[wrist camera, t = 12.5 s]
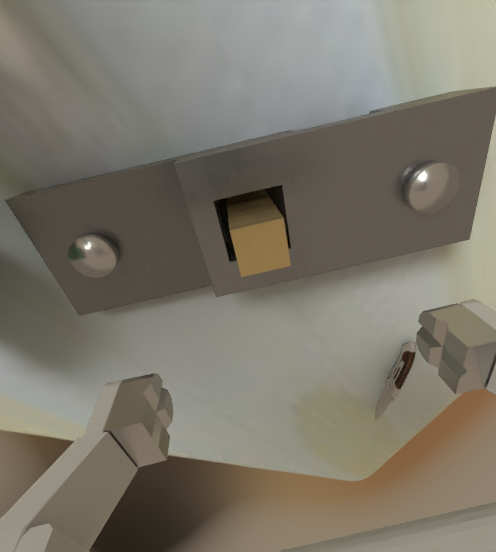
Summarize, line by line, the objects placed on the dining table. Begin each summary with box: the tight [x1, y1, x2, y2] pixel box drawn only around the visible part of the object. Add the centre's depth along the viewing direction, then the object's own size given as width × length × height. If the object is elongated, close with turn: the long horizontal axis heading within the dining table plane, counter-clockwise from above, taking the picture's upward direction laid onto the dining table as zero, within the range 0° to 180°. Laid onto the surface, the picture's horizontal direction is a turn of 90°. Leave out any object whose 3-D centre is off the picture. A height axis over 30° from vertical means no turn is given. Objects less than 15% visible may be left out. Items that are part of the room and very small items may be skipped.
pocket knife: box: [375, 342, 416, 420], centre depth 34 cm, size 14×1×2 cm, turn 175°
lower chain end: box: [5, 131, 295, 315], centre depth 22 cm, size 20×10×3 cm, turn 102°
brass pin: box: [226, 189, 291, 277], centre depth 19 cm, size 3×3×8 cm
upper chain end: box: [174, 87, 496, 297], centre depth 20 cm, size 20×10×5 cm, turn 102°
